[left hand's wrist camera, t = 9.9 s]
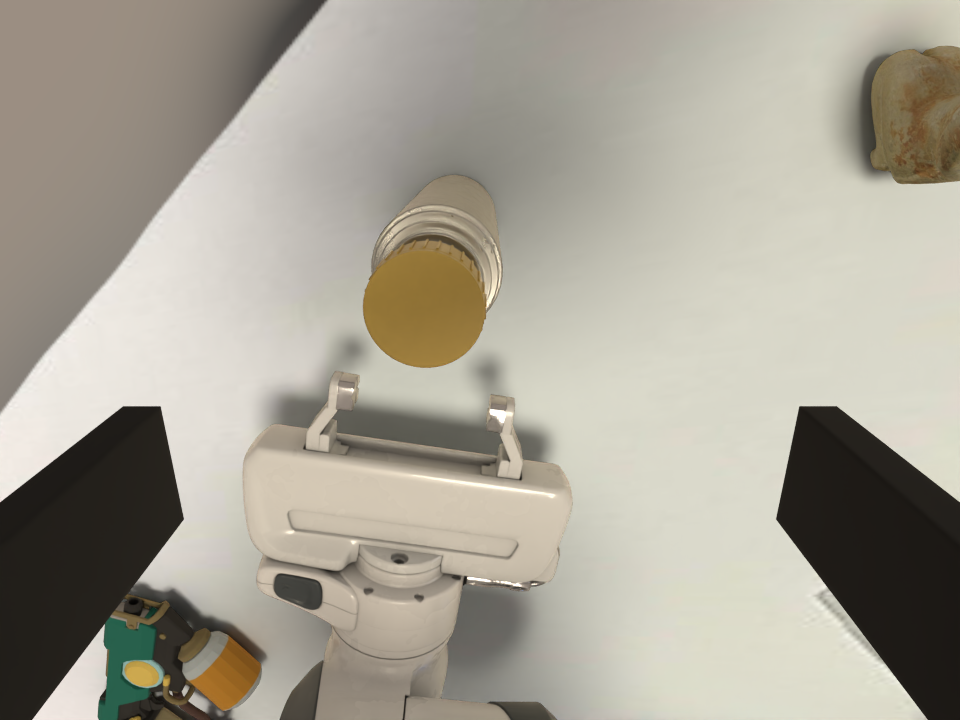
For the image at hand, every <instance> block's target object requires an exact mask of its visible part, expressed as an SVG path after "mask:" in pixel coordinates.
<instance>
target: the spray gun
mask: <svg viewBox="0 0 960 720" xmlns="http://www.w3.org/2000/svg"><path fill="white" fill-rule="evenodd" d="M124 599H127V601H126V602H121V603H120V604H119V606H118V607H117V608H116V610H115V611H114V612H113V614H112V615H111V616H110V618H109V619H108V620H107V621H106V623H105V631H104V646H105V647H106V649H108V650H107V664H106V676H107V687H106V690H105V691H104V692H103V694H102V695H101V696H100V700H99V705H98V719H99V720H182V719H181V718H180V717H178V716H177V715H175V714H174V713H173V712H171V711H170V710H168V709H167V708H164V706H165V705H166V703H165V702H164V701H158V700H156V699H155V698H154V697H153V696H152V694H151V692H155V691H162V690H163V696H164V698H165V699H166V700H167V701H168V702H170V703H171V704H174V705H178V706H179V707H180V708H181V709H183V710H184V711H185V712H187V713H188V714H189V715H191V716H193V717H194V718H196V719H198V720H211V719H210V717H209V716H208V715H207V714H206V713H205V712H203V711H202V710H200V709H198V708H197V707H195V706H194V705H192V704H191V703H190V702H189V701H188V700H189V699H190V697H191V696H192V695H193V692H194V690H195V687H196V688H197V689H198V690H199V691H200V692H202V693H203V694H204V695H205V696H206V697H207V698H208V699H209V700H211V701H212V702H213V703H214V704H215V705H216V706H217V707H218V708H220V709H221V710H222V711H227V710H230V709H233V708H236V707H238V706H239V705H241V704H242V703H244V702H245V701H246V700H247V699H248V698H249V697H250V695H251V694H252V693H253V691H254V690H255V689H256V687H257V686H258V684H259V682H260V679H261V672H262V668H261V664H260V663H259V662H258V661H257V660H256V659H255V658H254V657H253V656H251V655H250V654H249V653H248V652H247V651H246V650H245V649H243V648H242V647H241V646H240V645H239V644H238V643H237V642H236V641H234V640H233V639H232V638H231V637H230V636H229V635H227V634H225V633H222V632H220V631H214V632H210V631H209V630H208V629H206V628H203V629H200V630H199V631H196V632H194V631H193V629H192V628H191V627H190V626H189V625H188V624H187V623H186V622H185V621H184V620H183V619H182V618H181V617H180V616H179V615H178V614H177V613H176V612H175V611H174V610H173V609H172V607H169V606H170V604H169V603H168V602H167V601H163V602H161V603H158V602H155V601H151V600H148V599H144V598H140V597H137V596H133V595H130V594H127V595H126V596H125V598H124ZM149 606H152V608H151V609H150V610H149ZM154 607H156V608H159V610H158V611H157V609H156V608H154ZM179 646H181V649H180V652H179ZM185 684H187V685H189V686H190V688H189V690H188V692H187V694H186V695H185V697H184V696H183V694H182V690H183V688H184V686H185ZM169 690H170V691H172V693H173V696H172V695H170V693H169Z"/></svg>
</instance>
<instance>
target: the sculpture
mask: <svg viewBox="0 0 960 720" xmlns="http://www.w3.org/2000/svg"><path fill="white" fill-rule="evenodd" d="M871 107H872V117H873V124H874V130H875V136H876V148H875V149H873V150H872V152H871V154H870V159H871V163H872V166H873V167H874V168H875V169H878V170H882V171H891V173H892V176H893V178H894V180H895V181H896V182H897V183H900V184H930V183H943V182H954V181H960V48H958V47H954V46H938V47H936V48H932V49H928V50H926V51H925V52H924V53H923V54H920V53H919V52H917V51H916V50H914V49H911V50H903V51H899V52H897V53H895V54H893V55H891V56H890V57H888V58H887V59H886V60H884V61H883V62H882V64H881V65H880V66H879V68H878V70H877V72H876V74H875V76H874V79H873V83H872V90H871Z"/></svg>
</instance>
